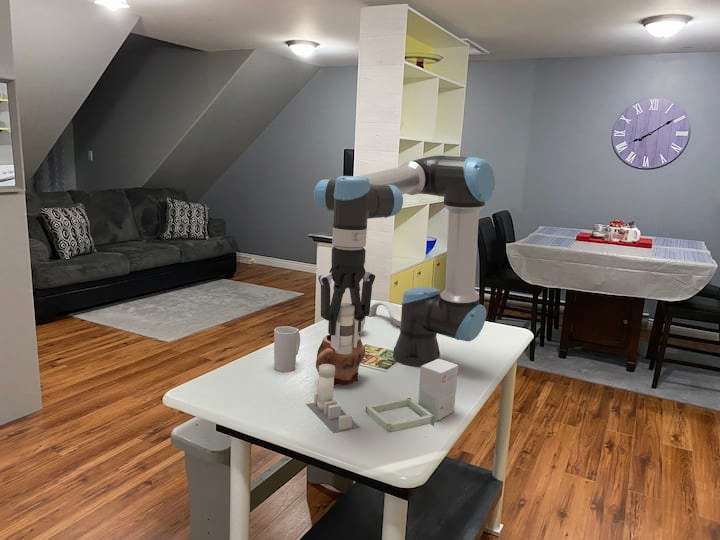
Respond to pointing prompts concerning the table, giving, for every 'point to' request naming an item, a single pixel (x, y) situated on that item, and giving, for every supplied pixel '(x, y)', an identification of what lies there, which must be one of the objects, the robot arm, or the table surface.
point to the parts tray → (423, 419)
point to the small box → (438, 387)
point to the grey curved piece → (392, 309)
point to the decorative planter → (341, 361)
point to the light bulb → (346, 328)
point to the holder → (330, 403)
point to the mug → (286, 348)
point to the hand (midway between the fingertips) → (343, 346)
